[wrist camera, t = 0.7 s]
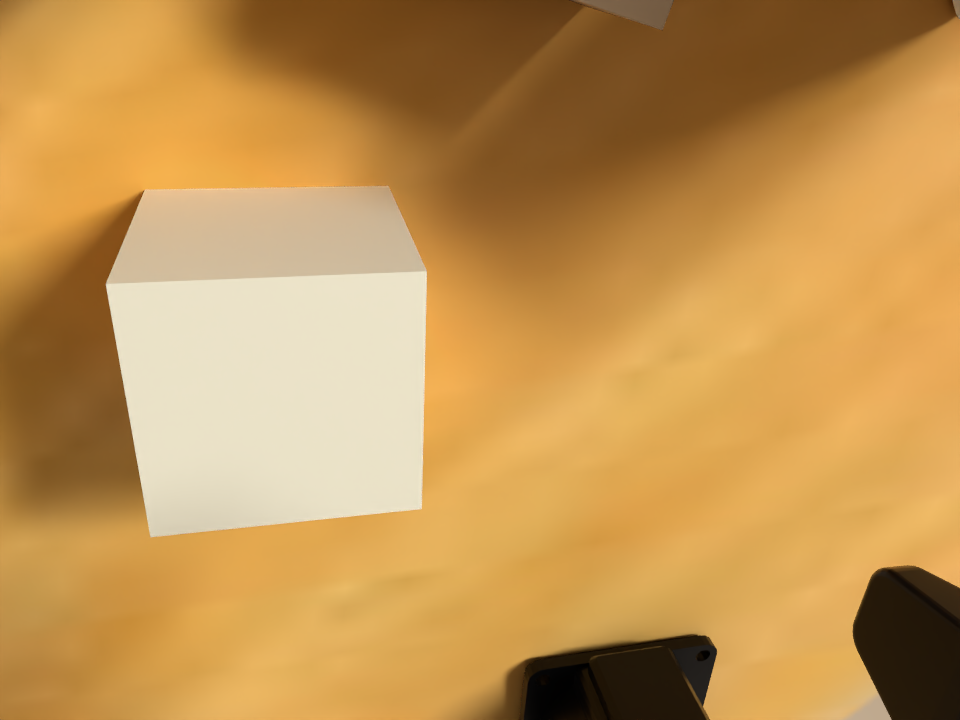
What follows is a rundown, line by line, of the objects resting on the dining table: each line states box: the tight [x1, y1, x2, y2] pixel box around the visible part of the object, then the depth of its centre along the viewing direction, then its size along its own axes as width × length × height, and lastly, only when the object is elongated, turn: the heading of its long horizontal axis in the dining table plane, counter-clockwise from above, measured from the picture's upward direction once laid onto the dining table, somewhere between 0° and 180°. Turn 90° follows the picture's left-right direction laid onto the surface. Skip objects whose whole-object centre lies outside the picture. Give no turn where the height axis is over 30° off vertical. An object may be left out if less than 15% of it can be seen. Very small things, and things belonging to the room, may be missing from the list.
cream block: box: [106, 186, 427, 537], centre depth 17 cm, size 5×5×5 cm
